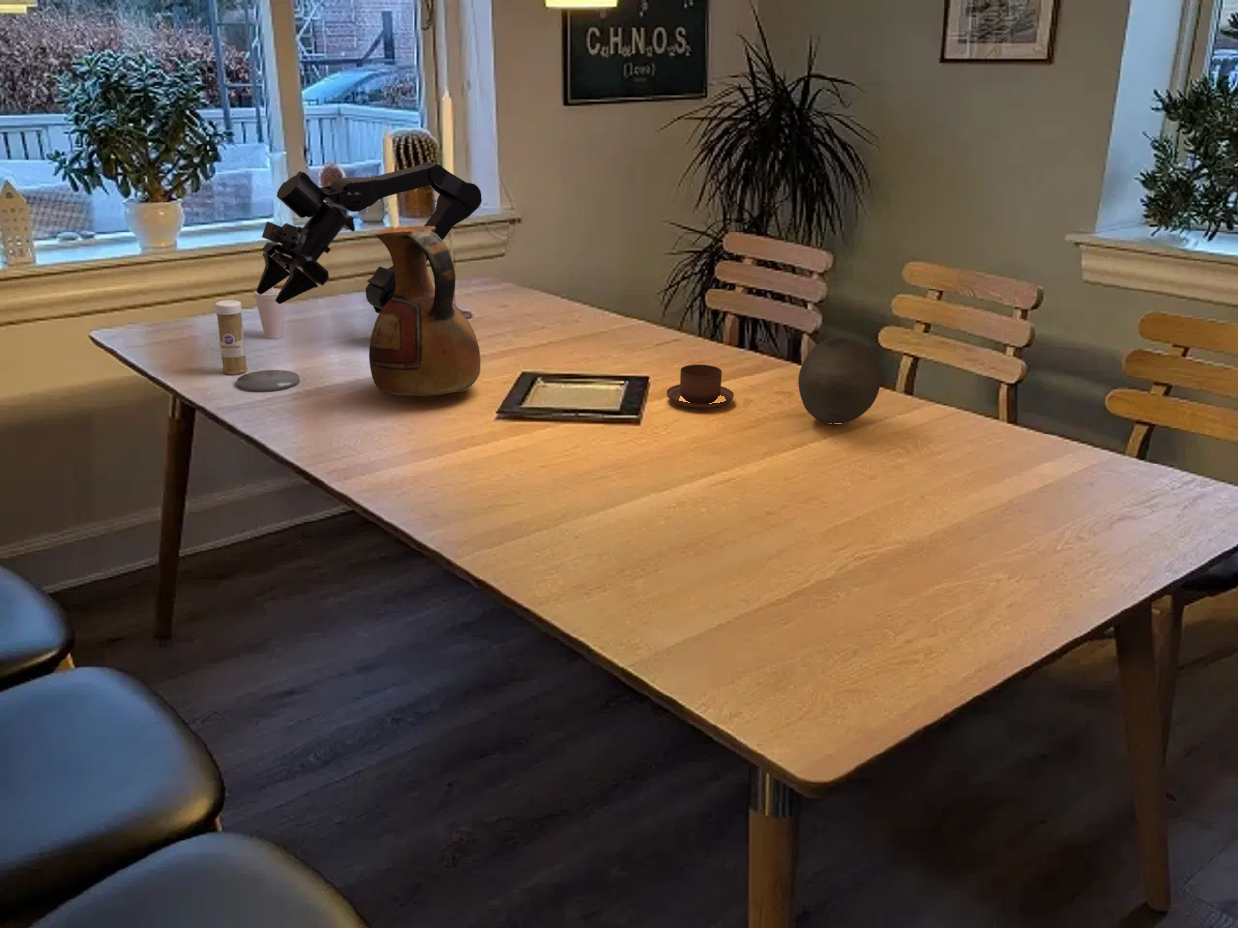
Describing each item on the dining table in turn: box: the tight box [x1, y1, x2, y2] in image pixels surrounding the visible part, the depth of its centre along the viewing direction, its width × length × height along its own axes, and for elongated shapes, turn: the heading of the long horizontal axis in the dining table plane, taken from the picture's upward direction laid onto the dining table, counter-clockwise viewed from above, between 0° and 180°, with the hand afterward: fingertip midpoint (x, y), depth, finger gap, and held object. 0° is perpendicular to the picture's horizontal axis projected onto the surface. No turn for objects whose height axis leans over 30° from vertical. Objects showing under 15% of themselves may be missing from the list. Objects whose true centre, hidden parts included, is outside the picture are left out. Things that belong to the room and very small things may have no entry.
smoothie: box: [253, 286, 285, 340], centre depth 232 cm, size 6×6×14 cm
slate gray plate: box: [236, 369, 300, 393], centre depth 205 cm, size 11×11×1 cm
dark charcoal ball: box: [797, 336, 882, 425], centre depth 187 cm, size 14×14×15 cm
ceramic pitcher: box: [368, 225, 481, 397], centre depth 196 cm, size 20×20×30 cm
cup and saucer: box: [666, 364, 735, 410], centre depth 199 cm, size 12×12×6 cm
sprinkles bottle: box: [214, 299, 248, 376], centre depth 209 cm, size 5×5×14 cm
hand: (267, 297), depth 211 cm, fingers open, 9 cm apart
